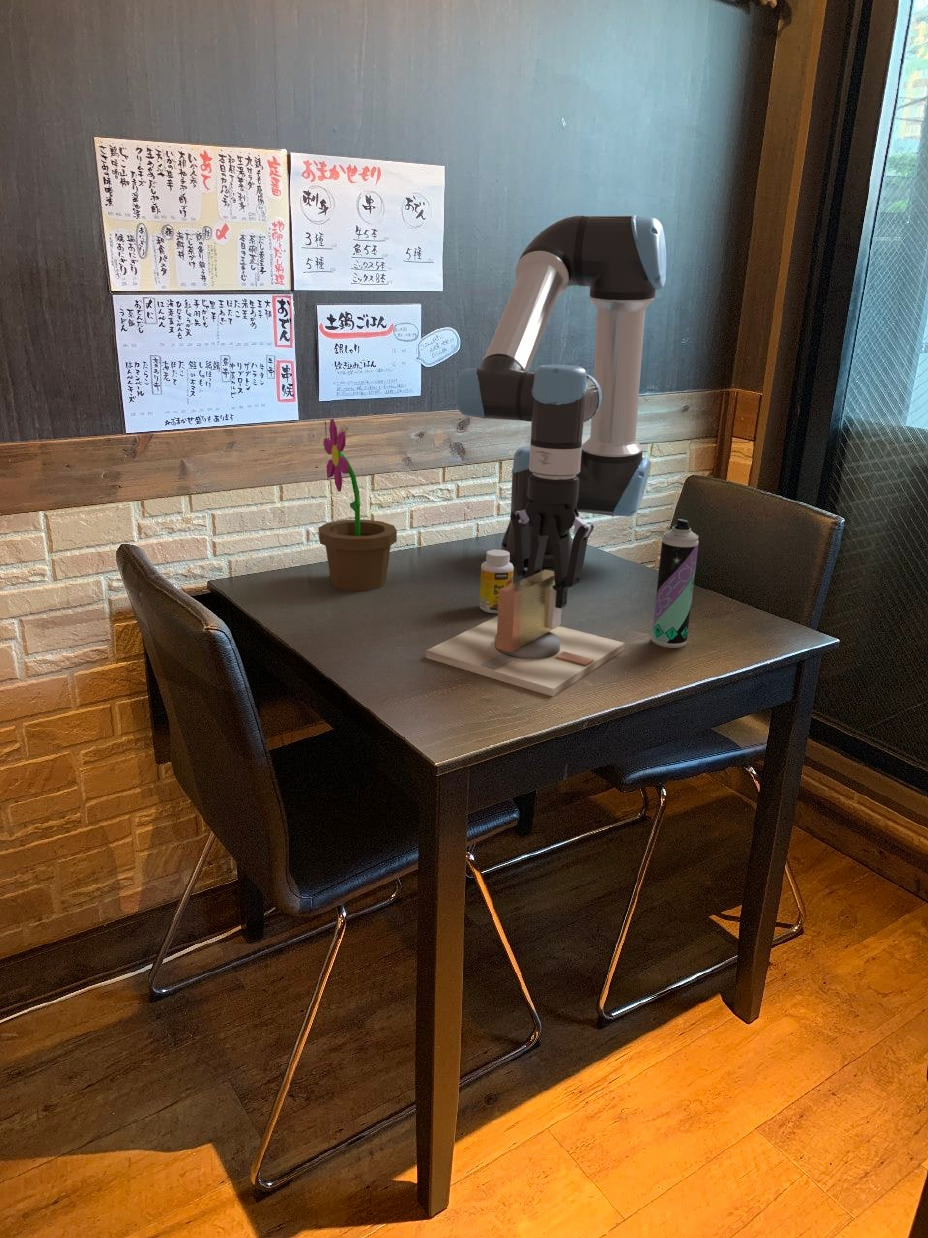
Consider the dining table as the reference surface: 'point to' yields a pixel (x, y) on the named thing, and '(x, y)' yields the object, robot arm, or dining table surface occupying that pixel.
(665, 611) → the spray can
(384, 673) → the dining table surface
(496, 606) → the supplement bottle
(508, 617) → the tan rectangular block
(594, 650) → the board
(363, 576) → the flowerpot
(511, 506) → the robot arm
